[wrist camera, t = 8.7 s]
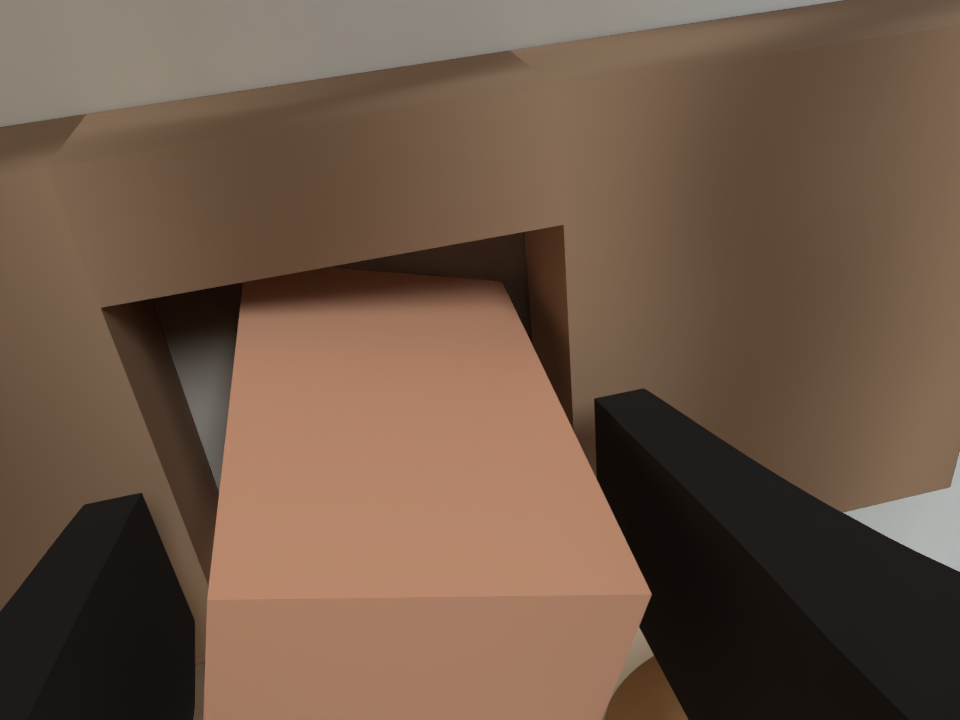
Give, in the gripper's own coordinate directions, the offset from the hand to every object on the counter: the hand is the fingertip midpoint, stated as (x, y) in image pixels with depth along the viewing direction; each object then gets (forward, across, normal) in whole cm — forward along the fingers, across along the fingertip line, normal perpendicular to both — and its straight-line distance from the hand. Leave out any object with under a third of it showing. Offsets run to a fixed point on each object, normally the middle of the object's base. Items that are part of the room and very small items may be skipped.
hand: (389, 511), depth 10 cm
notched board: (+3, -1, -1) cm, 3 cm away
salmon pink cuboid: (+3, 0, 0) cm, 3 cm away
